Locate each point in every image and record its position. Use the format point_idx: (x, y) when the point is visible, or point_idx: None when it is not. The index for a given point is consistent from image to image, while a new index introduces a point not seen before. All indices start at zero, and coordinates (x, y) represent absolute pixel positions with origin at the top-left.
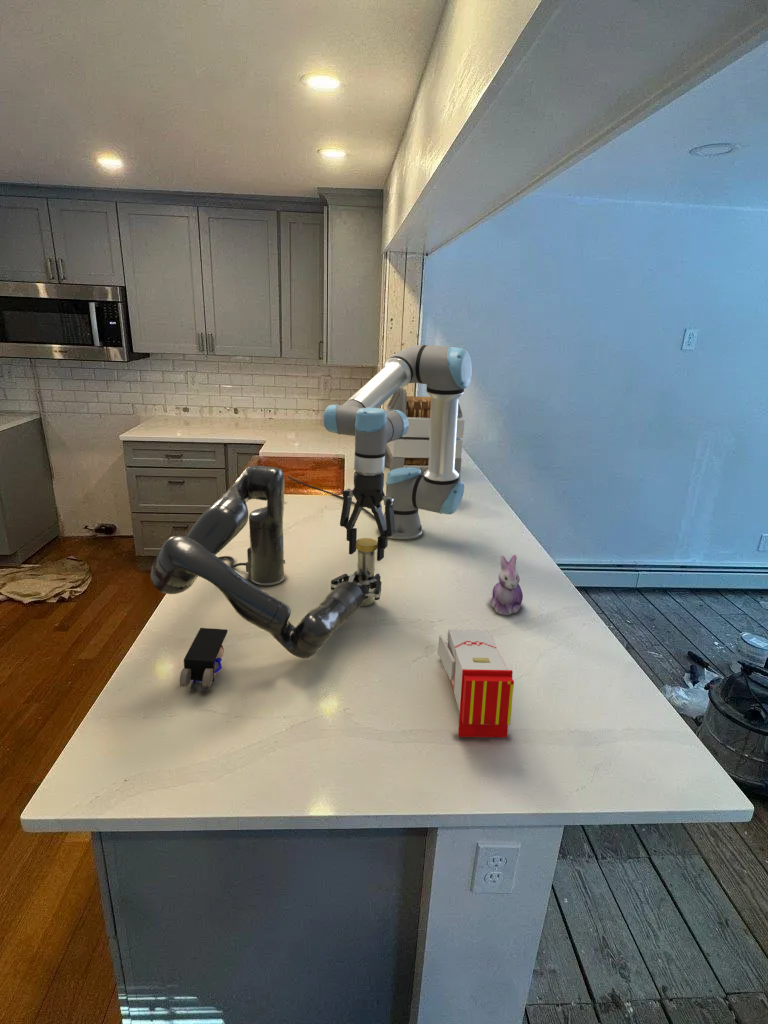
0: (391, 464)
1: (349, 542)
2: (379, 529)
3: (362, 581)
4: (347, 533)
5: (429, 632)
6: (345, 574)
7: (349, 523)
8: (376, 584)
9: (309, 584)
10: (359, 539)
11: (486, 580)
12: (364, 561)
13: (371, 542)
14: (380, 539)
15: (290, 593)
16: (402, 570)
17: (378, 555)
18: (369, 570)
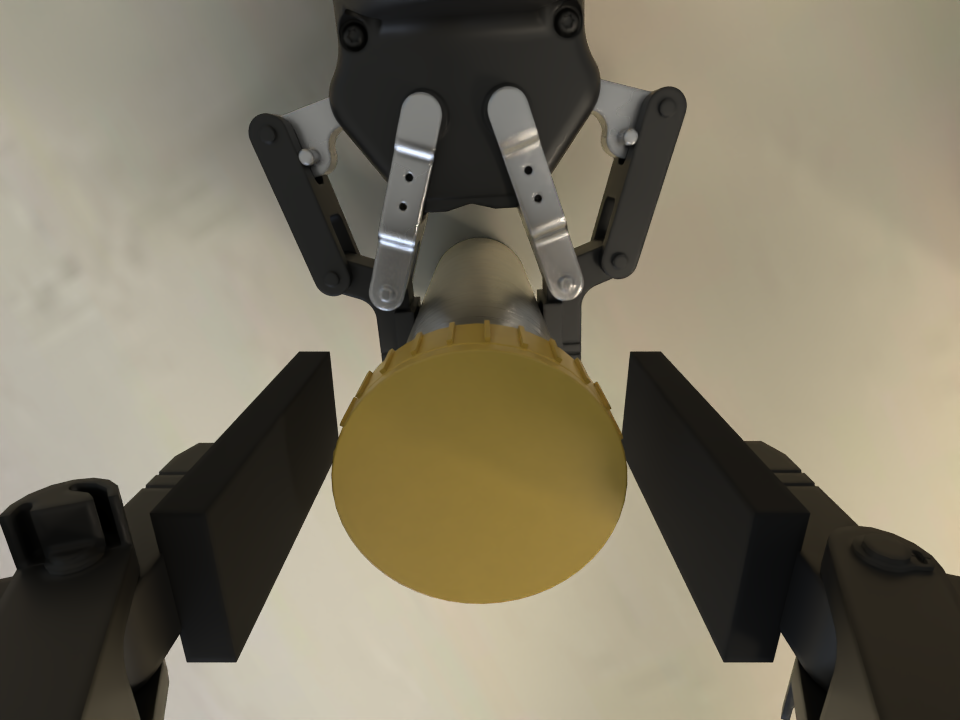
0: None
1: (709, 410)
2: (74, 660)
3: (472, 265)
4: (819, 505)
5: (14, 155)
6: (618, 256)
7: (933, 649)
8: (328, 231)
9: (847, 308)
10: (605, 511)
11: None
12: (455, 312)
13: (416, 504)
14: (171, 500)
15: (920, 154)
16: (461, 641)
17: (291, 375)
18: (421, 313)
